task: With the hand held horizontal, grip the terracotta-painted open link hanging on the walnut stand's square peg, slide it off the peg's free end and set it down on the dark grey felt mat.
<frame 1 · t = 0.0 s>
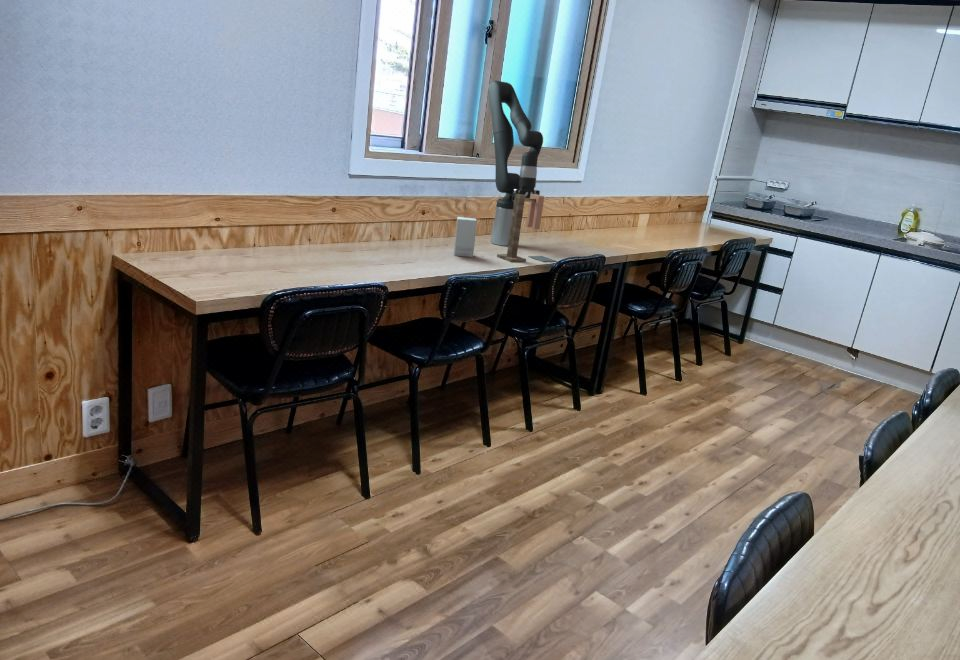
hand: (524, 212, 337), 17 cm above the table, tool pointing down, fingers open, 8 cm apart
stand: (511, 259, 317), on the table
mat: (542, 259, 326), on the table
skincare box: (463, 255, 312), on the table
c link: (532, 228, 319), point 14 cm above the table, touching stand
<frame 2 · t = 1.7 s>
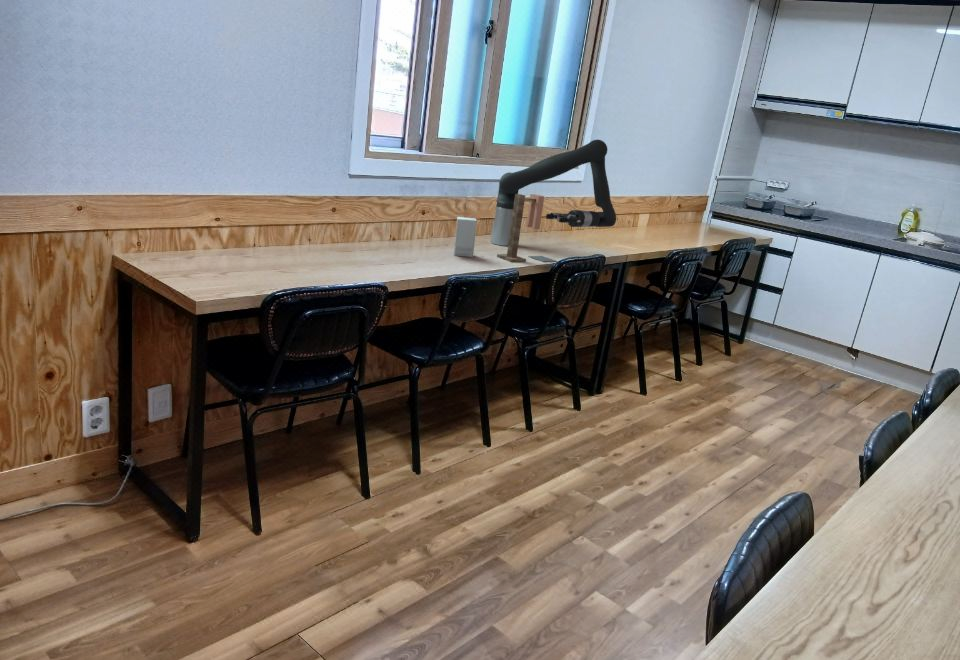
hand: (553, 218, 324), 18 cm above the table, tool horizontal, fingers open, 8 cm apart
nothing on the table moved.
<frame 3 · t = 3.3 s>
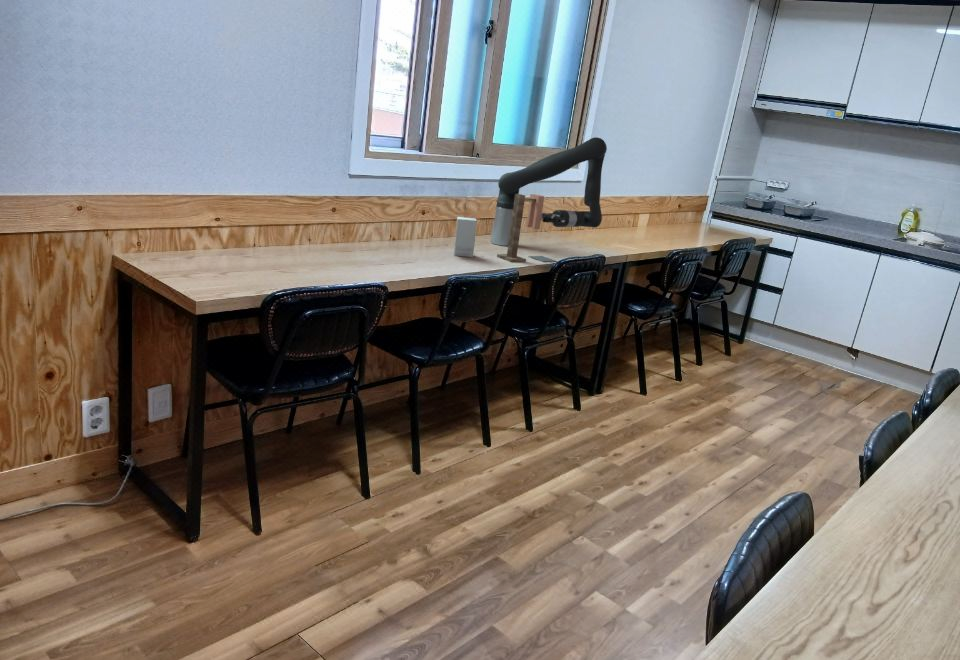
hand: (536, 217, 318), 18 cm above the table, tool horizontal, fingers open, 8 cm apart
nothing on the table moved.
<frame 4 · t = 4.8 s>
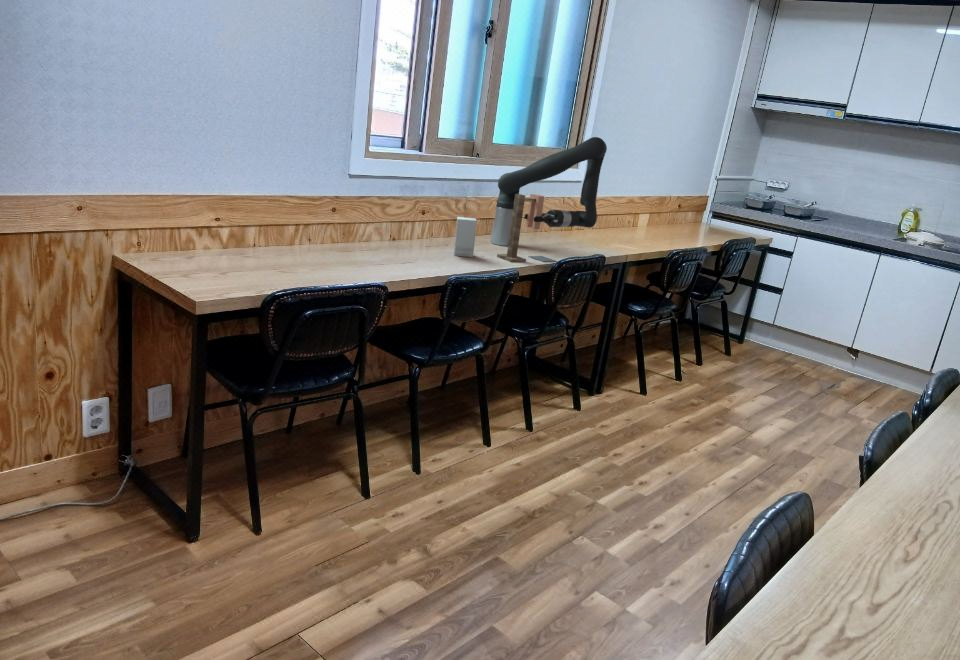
hand: (529, 217, 316), 18 cm above the table, tool horizontal, fingers closed on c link, 5 cm apart
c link: (532, 228, 319), point 14 cm above the table, touching gripper, stand
everything else where it was.
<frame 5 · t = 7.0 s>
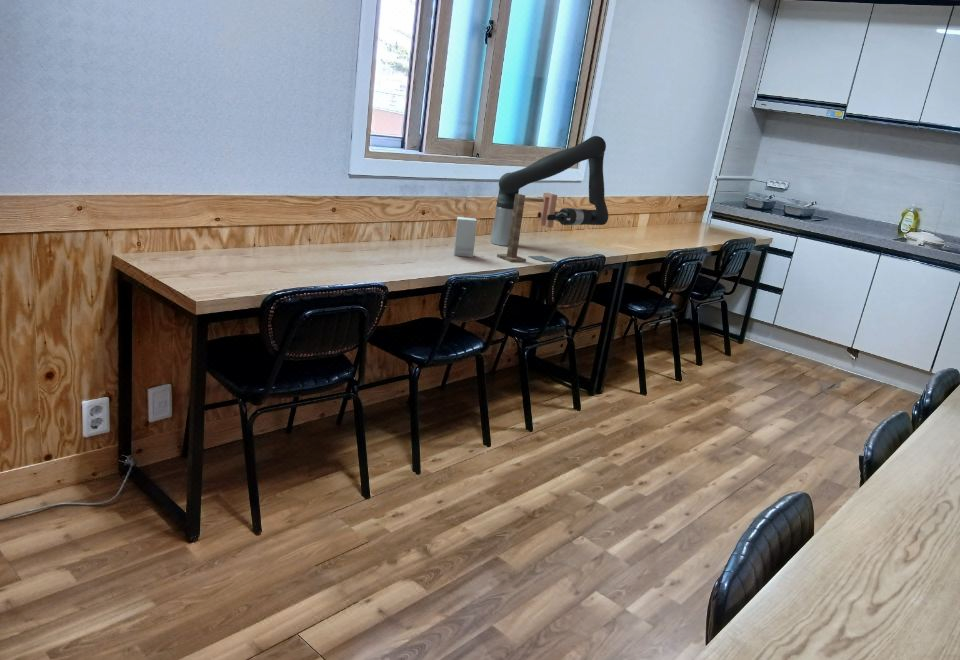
hand: (542, 216, 320), 19 cm above the table, tool horizontal, fingers closed on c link, 5 cm apart
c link: (545, 226, 323), point 14 cm above the table, touching gripper
everything else where it was.
when the fingers open (6 cm above the table, at t = 9.5 s): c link drops 2 cm, resting on mat.
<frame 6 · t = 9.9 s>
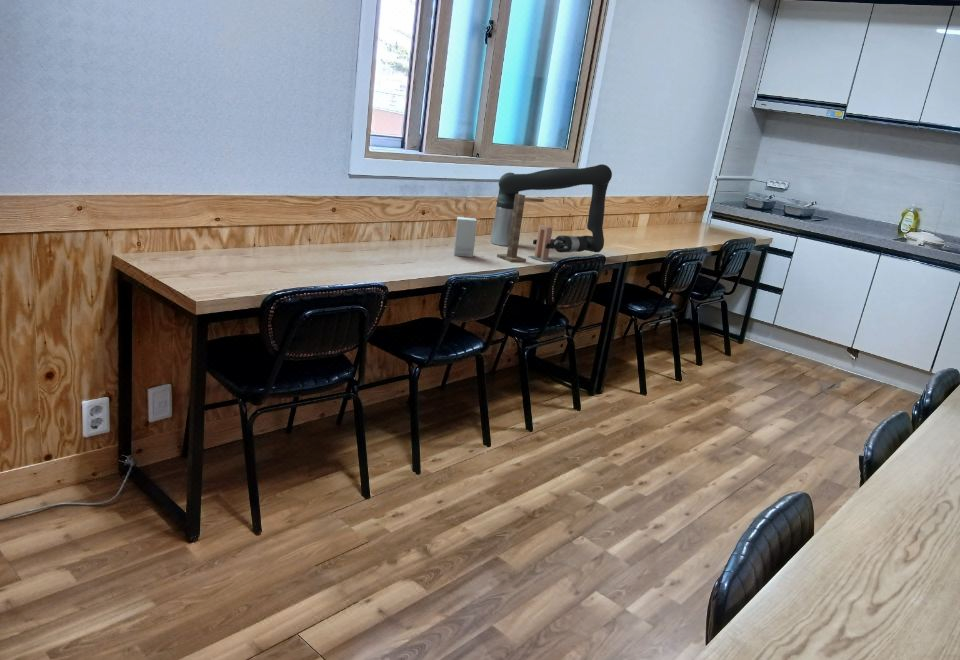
hand: (539, 244, 324), 7 cm above the table, tool horizontal, fingers open, 8 cm apart
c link: (541, 257, 327), resting on mat
everything else where it was.
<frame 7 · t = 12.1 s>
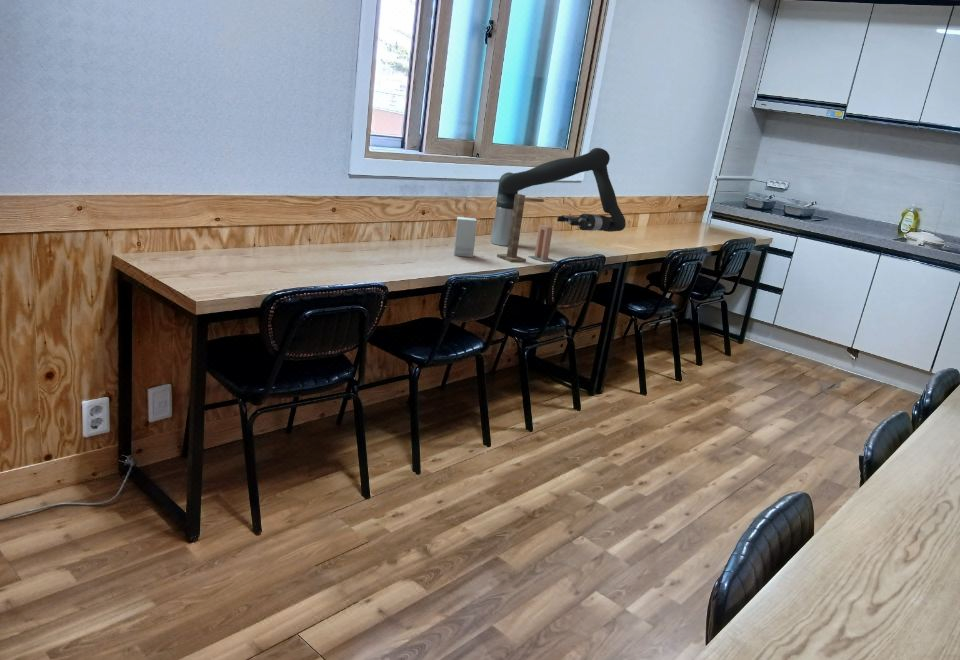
hand: (564, 220, 329), 17 cm above the table, tool horizontal, fingers open, 8 cm apart
nothing on the table moved.
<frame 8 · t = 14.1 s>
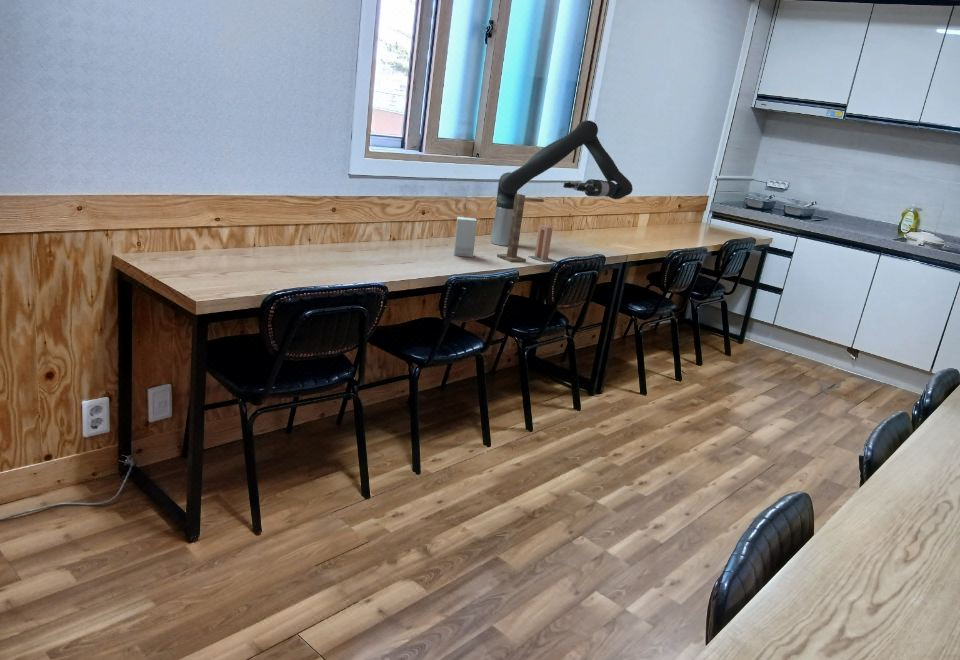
hand: (570, 186, 326), 32 cm above the table, tool horizontal, fingers open, 8 cm apart
nothing on the table moved.
at the end: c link resting on mat; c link inside the target area (1.2 cm from its centre), resting on mat; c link touching mat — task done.
